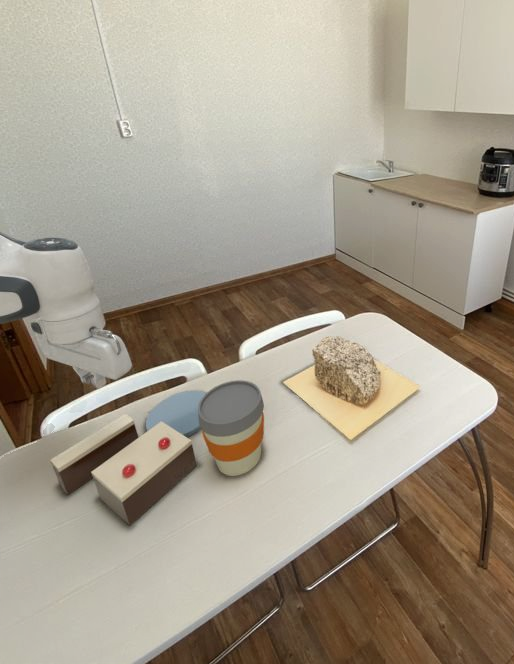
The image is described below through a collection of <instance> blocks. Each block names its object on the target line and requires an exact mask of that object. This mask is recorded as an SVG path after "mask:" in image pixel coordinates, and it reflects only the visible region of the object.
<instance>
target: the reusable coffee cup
mask: <svg viewBox="0 0 514 664" xmlns="http://www.w3.org/2000/svg"><path fill="white" fill-rule="evenodd" d="M205 393H206V394H205V395H204V396H203V397H202V399H201V401H200V402H199V405H198V420H199V426H200V428H201V429H200V430H201V431H202V437H203V439H204V442H205V444H206V447H207V449H208V452H209V454H210V455H211V457H212V458H214V460H215V464H216V465H217V468H218V470H219V471H220V473H222V474H224V475H225V476H229V477H237V476H241V475H244V474H246V473H247V472H249V471H251V470H252V469H253V468H254V467H256V465H257V464H258V463H259V461H260V460H261V456H262V442H263V440H264V431H265V414H264V408H265V405H264V404H265V403H264V399H263V395H262V392H261V389H260V387H258V385H257V384H255V383H254V382H252V381H250V380H249V381H248V380H243V379H242V380H240V379H238V380H230V381H226V382H223V383H221V384H218V385H216V386H214V387H213V388H211V389H209V390H208V391H207V392H205Z"/></svg>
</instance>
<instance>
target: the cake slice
mask: <svg viewBox="0 0 514 664" xmlns="http://www.w3.org/2000/svg"><path fill="white" fill-rule="evenodd" d="M139 437H140V436H139V434H138V431H137V427H136V424H135V420H134V419H133V418H131V417H130V416H129V415H128V414H127V413H123V414H122V415H121V416H119V417H117V418H116V419H114V420H113V421H111V422H110V423H108V424H106V425H104V426H103V427H101V428H100V429H98V430H96V431H95V432H93V433H91V434H90V435H88V436H87V437H85V438H83V439H82V440H80V441H79V442H76V443H75V444H73V445H72V446H70V447H68V448H67V449H65V450H64V451H62V452H60V453H59V454H57V455H56V456H54V457H52V458H51V459H50V463H51V466H52V468H53V471H54V473H55V476H56V478H57V480H58V483H59V486H60V488H61V489H62V490H63V491H64V492H65V494H66V495H67V496H69V495H70V494H72V493H73V492H75V491H76V490H78V489H79V488H81V487H82V486H83V485H85V484H86V483H87V482H89V481H91V480H92V479H93V476H92V473H91V472H92V471H93V470H95V469H96V468H97V467H99V466H100V465H102V464H103V463H104V462H106V461H107V460H109V459H110V458H111V457H113V456H114V455H115V454H117V453H118V452H120V451H121V450H122V449H124V448H125V447H126V446H128V445H129V444H131V443H132V442H133V441H135V440H136V439H138V438H139Z"/></svg>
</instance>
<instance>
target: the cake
mask: <svg viewBox="0 0 514 664" xmlns="http://www.w3.org/2000/svg"><path fill="white" fill-rule="evenodd" d="M138 437H139V438H138V439H136V440H135V441H133V442H132V443H131V444H129V445H128V446H126V447H125V448H124V449H122V450H121V451H120V452H118V453H117V454H115V455H114V456H113V457H111V458H110V459H109V460H107V461H106V462H104V463H103V464H102V465H100V466H99V467H97V468H96V469H95V470H93V471H92V472H91V473H92V476H93V478H92V479H93V481H94V484H95V488H96V490H97V493H98V496H99V498H100V500H101V501H102V502H103V503H104V504H105V505H107V506H108V507H109V508H110V509H111V510H112V511H113V512H114V513H115V514H116V515H117V516H119V517H120V518H121V519H122V520H123V521H124V522H125V523H126V524H127V525H129V526H132V525H133V524H134V523H135V522H136V521H137V520H139V519H140V518H141V517H142V516H143V515H144V514H145V513H147V512H148V511H149V510H150V509H151V508H152V507H153V506H154V505H156V503H157V502H158V501H160V500H161V499H162V498H164V496H165V495H167V494H168V493H169V492H170V491H171V490H172V489H173V488H174V487H175V486H176V485H178V484H179V483H180V482H181V481H182V480H183V479H185V477H186V476H187V475H189V474H190V473H191V472H193V470H194V469H195V468H197V467H198V463H197V460H196V455H195V450H194V446H193V442H192V440H191V439H190V438H188V437H185V436H184V435H182V434H181V433H179V432H177V431H176V430H174V429H173V428H171V427H170V426H168V425H166V424H165V423H163V422H162V421H161V422H160V423H158V424H157V425H156V426H154V427H153V428H151V429H150V430H149V431H147V430H146V432H145V433H143V434H141V435H140V436H138Z"/></svg>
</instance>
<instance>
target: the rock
mask: <svg viewBox="0 0 514 664" xmlns="http://www.w3.org/2000/svg"><path fill="white" fill-rule="evenodd" d="M311 353H312V357H313V361H314V364H313V365H311V366H309V367H308V368H305V369H304V370H303V371H300V372H299V373H297V374H295V375H293V376H291V377H289V378H287V379H286V380H284V381H283V382H282V384H284V385H285V386H286V387H288V388H289V389H290V390H291V391H292V392H293V393H294V394H296V395H297V396H298V397H299V398H300V399H302V400H303V401H304V402H306V404H308V405H309V406H310V407H311V408H312V409H313V410H314V411H316V412H317V413H318V414H319V415H320V416H321V417H323V419H325V420H326V421H328V423H330V424H331V425H332V426H334V428H335V429H337V430H338V431H339V432H340V433H342V434H343V435H344V436H345V437H346V438H347V439H348V440H350V441H351V440H353V439H355V438H356V437H357V436H358V435H359V434H361V433H362V432H363V431H365V430H366V429H368V428H369V427H370V426H371V425H373V424H374V423H375V422H376V421H378V420H379V419H381V418H382V417H384V416H385V415H386V414H387V413H389V412H390V411H391V410H392V409H394V408H395V407H397V406H398V405H399V404H400V403H402V402H403V401H404V400H406V399H407V398H409V397H410V396H411V395H412V394H414V393H415V392H416V391H417V390H419V389H420V388H421V387H422V386H421V385H419V384H417V383H415V382H414V381H412V380H411V379H409V378H407V377H405V376H403V375H402V374H400V373H398V372H397V371H395V370H393V369H392V368H390V367H388V366H386V365H384V364H383V363H382V362H380V361H378V360H376V359H374V357H373V356H372V354H371V353H370V352H369V351H368V350H367V349H366V348H365V347H364V346H363V345H361V344H359V343H357V342H354V341H350V340H347V339H346V340H345V338H343V337H341V336H337V335H336V336H331V335H327V336H326V337H324V338H322V339H321V340H320V341H319V342H318V344H316V345H315V346H314V347H313V348H312V349H311Z"/></svg>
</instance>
